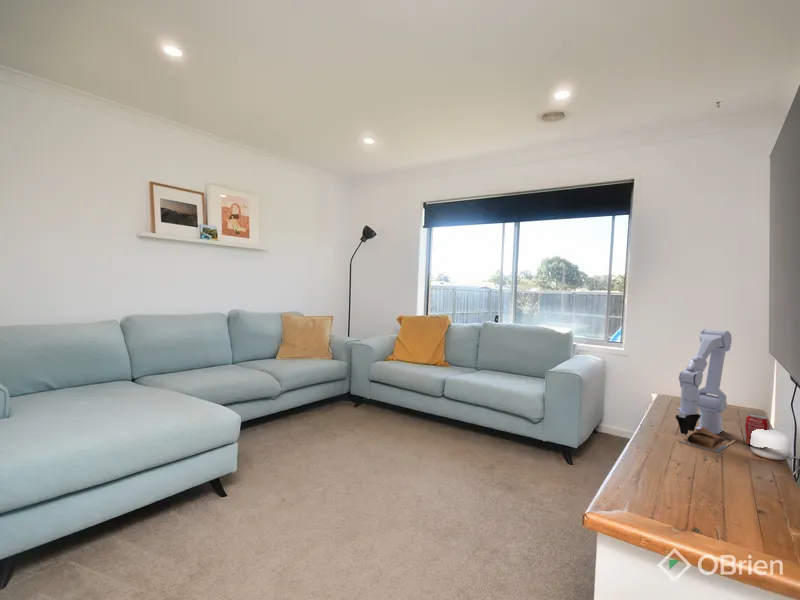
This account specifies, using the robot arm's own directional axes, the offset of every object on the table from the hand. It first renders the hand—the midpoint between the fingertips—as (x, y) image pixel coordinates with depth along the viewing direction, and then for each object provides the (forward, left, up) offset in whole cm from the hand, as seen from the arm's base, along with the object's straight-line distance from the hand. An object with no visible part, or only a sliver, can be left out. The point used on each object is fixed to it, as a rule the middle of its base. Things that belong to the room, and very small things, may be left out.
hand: (687, 432), depth 167 cm
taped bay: (0, +7, -2) cm, 7 cm away
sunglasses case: (-1, +6, -2) cm, 7 cm away
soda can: (-12, +20, -2) cm, 23 cm away
